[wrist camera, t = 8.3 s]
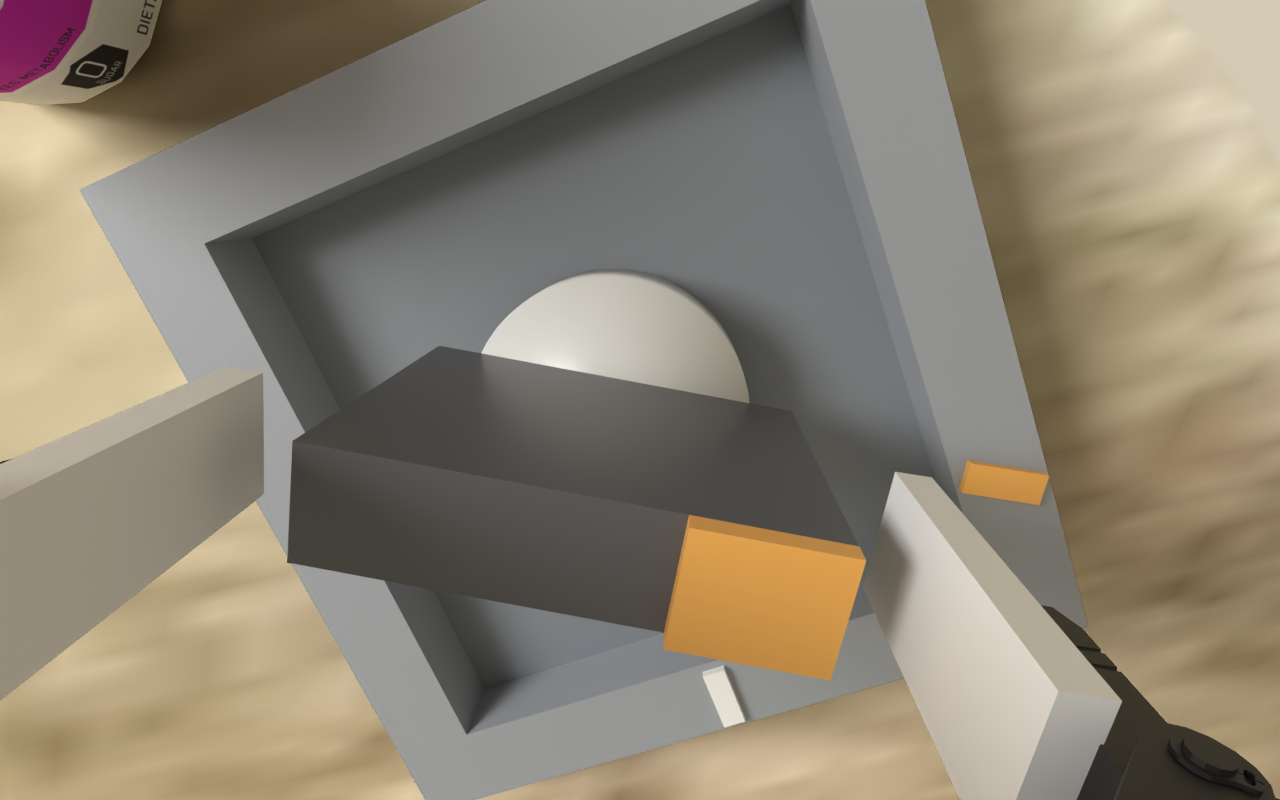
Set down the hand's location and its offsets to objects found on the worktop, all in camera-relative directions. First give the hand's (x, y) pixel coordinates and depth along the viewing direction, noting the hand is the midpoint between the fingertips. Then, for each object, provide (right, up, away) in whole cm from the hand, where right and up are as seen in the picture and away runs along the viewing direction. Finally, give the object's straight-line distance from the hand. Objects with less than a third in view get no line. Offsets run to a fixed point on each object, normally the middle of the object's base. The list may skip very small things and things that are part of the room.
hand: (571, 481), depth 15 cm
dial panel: (+1, +2, +9) cm, 9 cm away
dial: (+1, +2, +8) cm, 8 cm away
